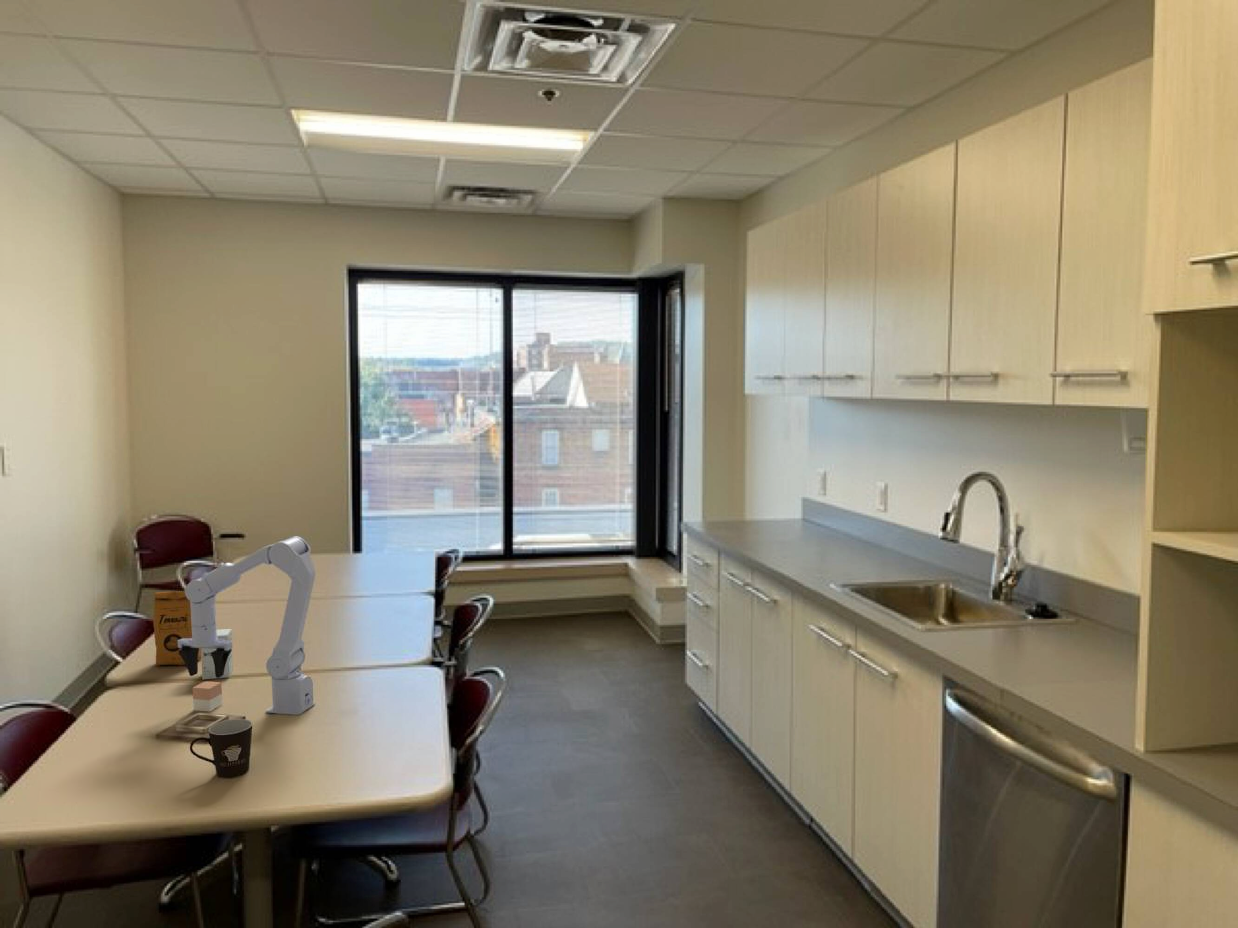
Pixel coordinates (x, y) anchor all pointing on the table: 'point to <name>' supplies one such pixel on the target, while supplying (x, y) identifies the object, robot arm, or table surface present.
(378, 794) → the table surface
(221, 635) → the supplement box
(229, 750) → the coffee mug
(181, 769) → the table surface
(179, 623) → the coffee package
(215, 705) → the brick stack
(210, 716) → the walnut board
